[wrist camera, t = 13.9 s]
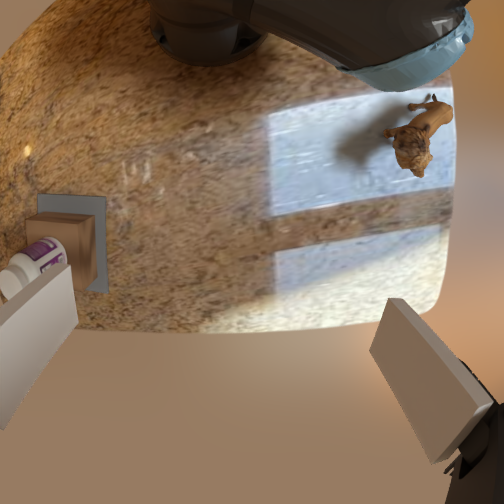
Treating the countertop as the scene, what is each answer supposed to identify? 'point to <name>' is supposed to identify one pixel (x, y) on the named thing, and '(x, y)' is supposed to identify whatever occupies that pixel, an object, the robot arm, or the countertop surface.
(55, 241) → the pill bottle
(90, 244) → the base block
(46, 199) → the mat
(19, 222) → the countertop surface
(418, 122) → the lion figurine
